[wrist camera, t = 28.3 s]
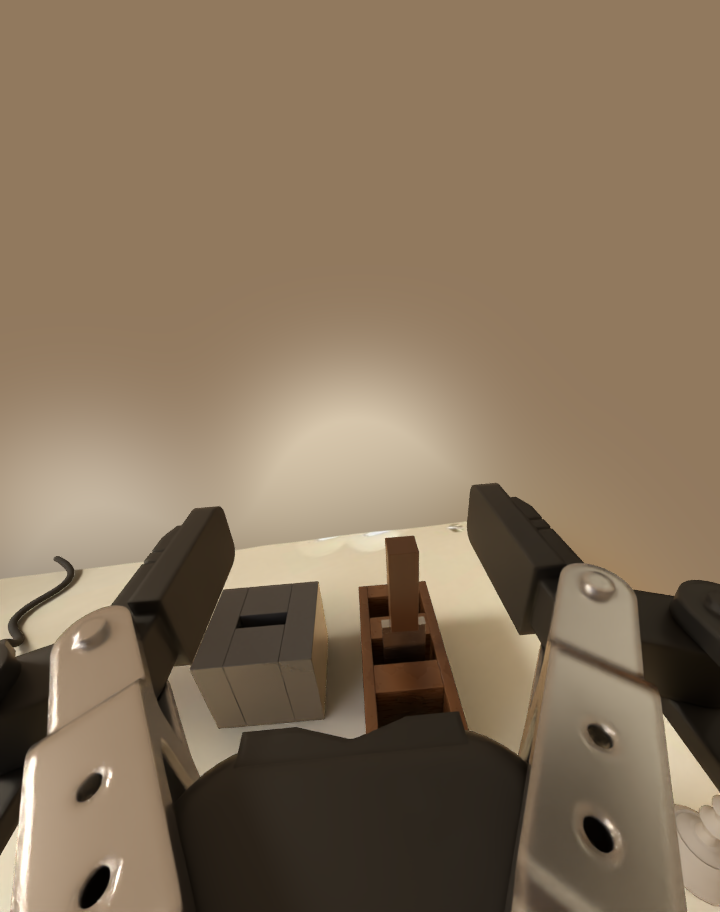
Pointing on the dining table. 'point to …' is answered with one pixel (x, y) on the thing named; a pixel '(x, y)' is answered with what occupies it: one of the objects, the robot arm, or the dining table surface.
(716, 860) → the chalice
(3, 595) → the dining table surface
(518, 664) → the dining table surface
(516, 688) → the dining table surface
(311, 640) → the knife block
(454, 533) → the dining table surface
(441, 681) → the knife rack
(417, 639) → the chef knife
